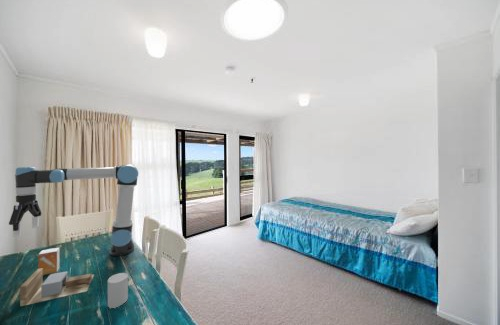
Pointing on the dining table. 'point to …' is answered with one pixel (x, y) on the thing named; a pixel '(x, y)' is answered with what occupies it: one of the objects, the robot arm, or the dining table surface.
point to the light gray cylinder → (117, 290)
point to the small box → (49, 260)
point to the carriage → (54, 284)
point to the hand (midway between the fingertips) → (26, 231)
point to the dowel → (78, 280)
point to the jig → (32, 289)
